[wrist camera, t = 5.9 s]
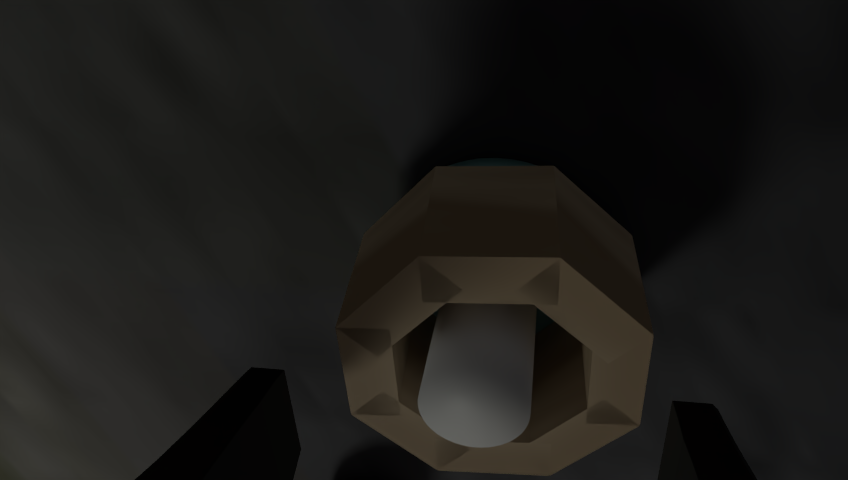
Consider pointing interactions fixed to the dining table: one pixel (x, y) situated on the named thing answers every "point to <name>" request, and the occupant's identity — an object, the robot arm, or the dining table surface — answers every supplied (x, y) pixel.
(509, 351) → the toy mushroom
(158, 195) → the dining table surface
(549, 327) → the ring
